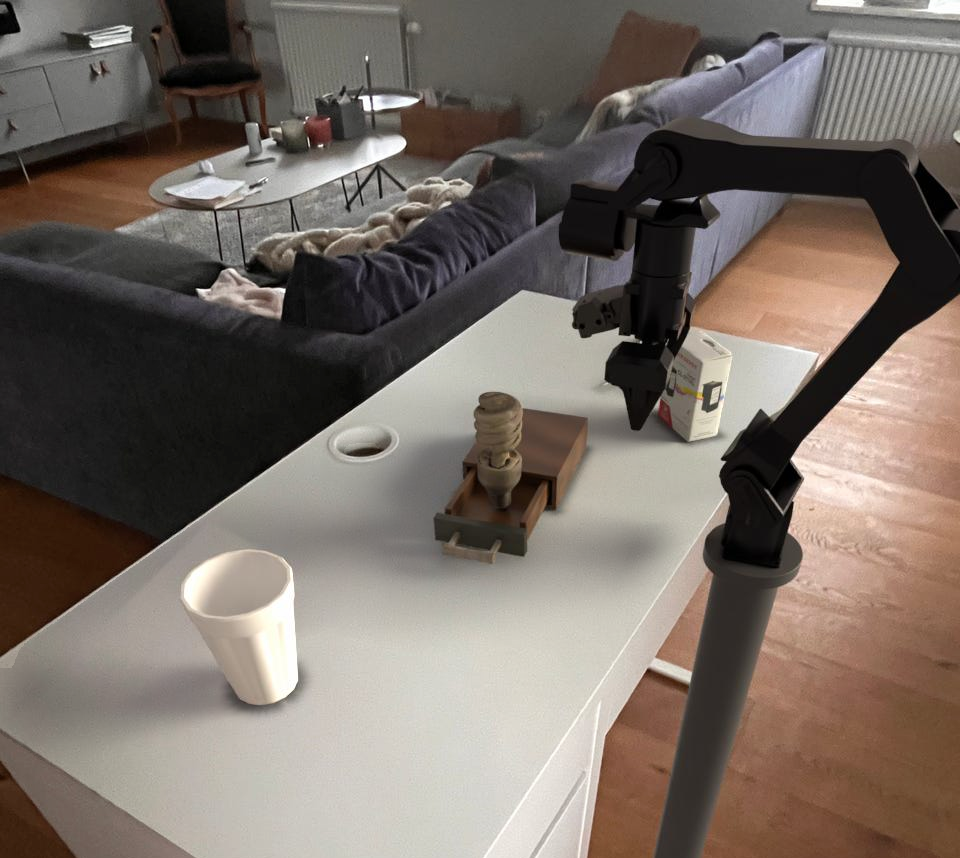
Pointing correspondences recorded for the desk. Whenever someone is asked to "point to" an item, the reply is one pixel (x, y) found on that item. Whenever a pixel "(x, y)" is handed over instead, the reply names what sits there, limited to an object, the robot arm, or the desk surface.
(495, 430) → the light bulb
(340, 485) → the desk surface
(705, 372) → the ink box
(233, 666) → the cup
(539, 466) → the cabinet
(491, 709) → the desk surface
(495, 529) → the drawer
